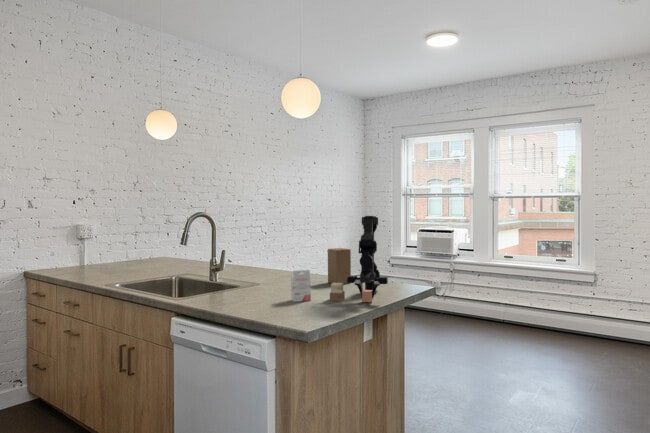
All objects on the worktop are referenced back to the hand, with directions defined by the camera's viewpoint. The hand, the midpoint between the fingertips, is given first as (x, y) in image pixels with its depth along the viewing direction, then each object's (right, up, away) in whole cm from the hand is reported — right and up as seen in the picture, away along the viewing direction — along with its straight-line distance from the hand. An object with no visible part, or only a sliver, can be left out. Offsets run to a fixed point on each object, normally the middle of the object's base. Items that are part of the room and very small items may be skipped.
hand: (367, 298), depth 217 cm
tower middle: (-14, +2, +6) cm, 15 cm away
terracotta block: (0, -1, 0) cm, 1 cm away
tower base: (-14, -2, +6) cm, 15 cm away
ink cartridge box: (-32, -2, +6) cm, 32 cm away
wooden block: (-12, -1, +54) cm, 56 cm away
